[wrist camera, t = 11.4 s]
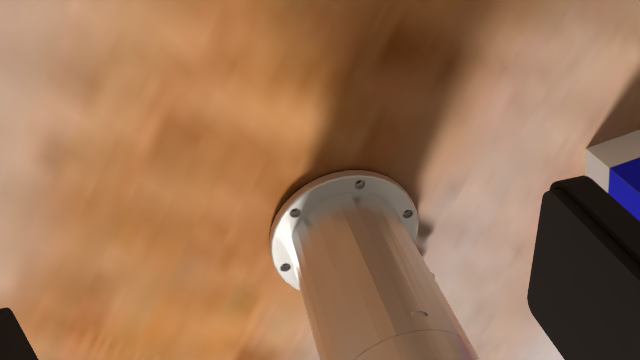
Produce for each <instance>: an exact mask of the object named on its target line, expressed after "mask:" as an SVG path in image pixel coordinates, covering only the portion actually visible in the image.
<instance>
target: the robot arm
mask: <svg viewBox="0 0 640 360" xmlns="http://www.w3.org/2000/svg"><path fill="white" fill-rule="evenodd" d="M418 225H419V222H418V215H417V211H416V208H415V206H414V203H413V201H412V200H411V198H410V197H409V195H408V193H407V192H406V191H405V190H404V189H403V188H402V187H401V186H400V185H399V184H398V183H397V182H395V181H394V180H392V179H391V178H389V177H387V176H384V175H382V174H379V173H376V172H371V171H365V170H347V171H341V172H335V173H331V174H329V175H326V176H323V177H320V178H318V179H316V180H314V181H312V182H310V183H308V184H306V185H305V186H303V187H302V188H301V189H299V190H298V191H297V192H295V193H294V194H293V195H292V196H291V197H290V198H289V199H288V200H287V201H286V202H285V203H284V204H283V206H282V207H281V209H280V210H279V212H278V213H277V215H276V217H275V219H274V222H273V224H272V227H271V231H270V238H269V245H270V253H271V257H272V261H273V264H274V266H275V269H276V271H277V272H278V274H279V275H280V276H281V277H282V278H283V280H284V281H285V282H287V283H288V284H289V285H291V286H292V287H293V288H295V289H297V290H299V291H301V294H302V298H303V301H304V305H305V308H306V312H307V315H308V319H309V322H310V326H311V329H312V333H313V337H314V340H315V344H316V347H317V351H318V354H319V358H320V360H480V358H479V357H478V355H477V353H476V351H475V350H474V348H473V346H472V344H471V343H470V341H469V339H468V337H467V336H466V334H465V332H464V330H463V328H462V327H461V325H460V323H459V321H458V320H457V318H456V316H455V314H454V313H453V311H452V309H451V307H450V305H449V304H448V302H447V300H446V298H445V297H444V295H443V293H442V291H441V290H440V288H439V286H438V284H437V282H436V281H435V276H434V274H433V273H432V272H430V270H429V268H428V267H427V265H426V263H425V261H424V260H423V258H422V256H421V254H420V252H419V251H418V249H417V247H416V245H415V241H416V238H417V235H418ZM527 299H528V305H529V308H530V310H531V313H532V314H533V316H534V317H535V319H536V320H537V322H538V323H539V324H540V326H541V327H542V329H543V330H544V331H545V333H546V334H547V336H548V337H549V338H550V340H551V341H552V343H553V344H554V345H555V347H556V348H557V349H558V351H559V352H560V354H561V355H562V356H563V358H564V359H565V360H640V221H639V220H637V219H636V218H635V217H634V216H633V215H632V214H631V213H630V212H628V211H627V210H626V209H625V208H624V207H623V206H622V205H621V204H619V203H618V202H617V201H616V200H615V199H614V198H613V197H612V196H610V195H609V194H608V193H607V192H606V191H605V190H604V189H603V188H601V187H600V186H599V185H598V184H597V183H596V182H595V181H594V180H593V179H591V178H590V177H588V176H579V177H575V178H570V179H565V180H560V181H556V182H554V183H553V184H552V185H551V187H550V190H549V191H547V192H545V193H544V195H543V198H542V204H541V210H540V217H539V223H538V230H537V236H536V243H535V249H534V256H533V262H532V269H531V276H530V282H529V289H528V296H527ZM0 360H38V358H37V356H36V354H35V353H34V351H33V349H32V347H31V345H30V343H29V342H28V340H27V338H26V336H25V334H24V332H23V330H22V329H21V327H20V325H19V323H18V321H17V319H16V318H15V316H14V314H13V312H12V311H11V309H9V308H2V309H0Z"/></svg>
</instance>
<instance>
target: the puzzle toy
mask: <svg viewBox="0 0 640 360" xmlns="http://www.w3.org/2000/svg"><path fill="white" fill-rule="evenodd" d="M585 176H588V177H590V178H591V179H593V180H594V181H595V182H596V183H597V184H598V185H599V186H600V187H601V188H603V189H604V190H605V191H606V192H607V193H608V194H609V195H610V196H612V197H613V198H614V199H615V200H616V201H617V202H618V203H619V204H621V205H622V206H623V207H624V208H625V209H626V210H627V211H628V212H630V213H631V214H632V215H633V216H634V217H635V218H636V219H637V220H639V221H640V130H637V131H634V132H631V133H628V134H626V135H623V136H620V137H617V138H614V139H611V140H608V141H605V142H603V143H600V144H597V145H594V146H591V147H588V148H586V163H585Z"/></svg>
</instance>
